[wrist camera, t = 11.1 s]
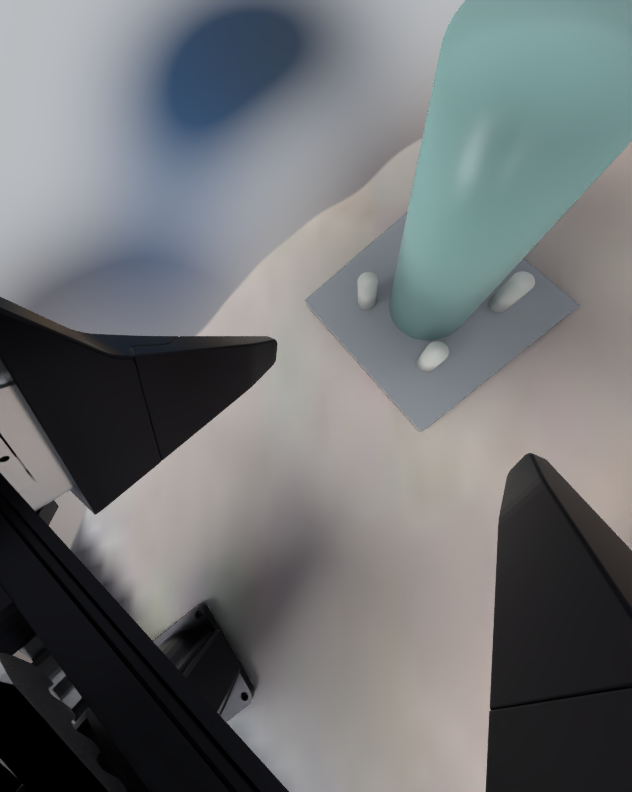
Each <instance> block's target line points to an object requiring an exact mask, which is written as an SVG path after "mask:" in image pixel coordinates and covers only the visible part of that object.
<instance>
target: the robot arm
mask: <svg viewBox="0 0 632 792" xmlns="http://www.w3.org/2000/svg"><path fill="white" fill-rule="evenodd" d="M276 353H277V341H276V340H275V339H273V338H270V337H268V336H181V337H178V336H130V335H129V336H128V335H105V334H89V333H83V332H79V331H75V330H72V329H69V328H67V327H65V326H63V325H60V324H58V323H56V322H54V321H52V320H50V319H47V318H45V317H43V316H41V315H39V314H37V313H34V312H32V311H30V310H28V309H26V308H23V307H21V306H19V305H17V304H15V303H13V302H11V301H8V300H6V299H4V298H2V297H0V792H289V791H288V790H287V789H286V788H285V787H284V786H283V785H282V784H281V783H280V781H279V780H278V779H277V778H276V777H275V776H274V775H273V774H272V773H271V771H270V770H269V769H268V768H267V767H266V766H265V765H264V764H263V763H262V762H261V760H260V759H259V758H258V757H257V756H256V755H255V754H254V753H253V752H252V750H251V749H250V748H249V747H248V746H247V745H246V744H245V743H244V742H243V740H242V739H241V738H240V737H239V736H238V735H237V734H236V733H235V732H234V731H233V729H232V728H231V727H230V726H229V725H228V724H227V723H226V722H227V721H228V720H229V719H231V718H232V717H233V716H235V715H236V714H237V713H238V712H240V711H241V710H242V709H244V708H245V707H246V706H248V705H249V704H250V703H251V701H252V698H253V696H254V687H253V685H252V683H251V681H250V680H249V678H248V676H247V675H246V673H245V671H244V669H243V668H242V666H241V664H240V662H239V661H238V659H237V657H236V655H235V654H234V652H233V650H232V648H231V647H230V645H229V643H228V642H227V640H226V638H225V636H224V635H223V633H222V631H221V629H220V628H219V626H218V624H217V622H216V621H215V619H214V617H213V615H212V614H211V612H210V610H209V609H208V607H207V606H206V605H205V604H203V603H200V604H198V605H197V606H196V607H195V608H193V609H192V610H191V611H190V612H188V613H187V614H186V615H185V616H183V617H182V618H181V619H180V620H179V621H177V622H176V623H175V624H174V625H172V626H171V627H170V628H169V629H167V630H166V631H165V632H164V633H162V634H161V635H160V636H159V637H157V638H156V639H155V640H154V641H152V640H151V639H150V638H149V637H148V635H147V634H146V633H145V632H144V631H143V630H142V629H141V628H140V627H139V625H138V624H137V623H136V622H135V621H134V620H133V619H132V618H131V617H130V616H129V614H128V613H127V612H126V611H125V610H124V609H123V608H122V607H121V606H120V604H119V603H118V602H117V601H116V600H115V599H114V598H113V597H112V596H111V595H110V593H109V592H108V591H107V590H106V589H105V588H104V587H103V586H102V585H101V583H100V582H99V581H98V580H97V579H96V578H95V577H94V576H93V575H92V573H91V572H90V571H89V570H88V569H87V568H86V567H85V566H84V565H83V564H82V562H81V561H80V560H79V559H78V558H77V557H76V556H75V555H74V554H73V552H72V551H71V550H70V549H69V548H68V547H67V546H66V545H65V544H64V543H63V541H62V540H61V539H60V538H59V537H58V536H57V535H56V534H55V533H54V532H53V530H52V529H51V528H50V527H49V524H50V522H51V520H52V518H53V516H54V514H55V512H56V511H57V508H58V505H57V504H56V502H55V501H54V500H55V499H57V498H58V497H60V496H61V495H63V494H65V493H67V492H68V491H71V492H72V493H73V494H74V495H75V496H76V497H77V498H78V499H79V500H80V501H81V502H83V503H84V504H85V505H86V506H87V507H88V508H89V509H90V510H91V511H92V512H93V513H94V514H97V513H98V512H100V511H101V510H103V509H104V508H105V507H106V506H108V505H109V504H110V503H111V502H113V501H114V500H115V499H116V498H117V497H119V496H120V495H121V494H122V493H123V492H125V491H126V490H127V489H128V488H130V487H131V486H132V485H133V484H134V483H136V482H137V481H138V480H139V479H140V478H142V477H143V476H144V475H145V474H147V473H148V472H149V471H150V470H151V469H153V468H154V467H155V466H156V465H158V464H159V463H160V462H161V460H163V459H165V458H166V457H167V456H168V455H169V454H171V453H172V452H173V451H174V450H176V449H177V448H178V447H179V446H180V445H182V444H183V443H184V442H185V441H187V440H188V439H189V438H190V437H191V436H193V435H194V434H195V433H196V432H197V431H199V430H200V429H201V428H202V427H204V426H205V425H206V424H207V423H208V422H210V421H211V420H212V419H213V418H215V417H216V416H217V415H218V414H219V413H221V412H222V411H223V410H224V409H225V408H227V407H228V406H229V405H230V404H232V403H233V402H234V401H235V400H236V399H238V398H239V397H240V396H241V395H243V394H244V393H245V392H246V391H247V390H249V389H250V388H251V387H252V386H253V385H254V384H255V383H256V382H257V381H258V380H259V379H260V378H261V377H262V376H263V375H264V374H265V373H266V372H267V371H268V370H269V369H270V368H271V367H272V365H273V364H274V363H275V361H276ZM199 611H200V612H201V613H202V615H200V614H199ZM18 650H19V651H20V652H22V653H23V654H25V655H26V656H27V657H29V658H30V659H31V660H32V661H33V662H32V663H29V662H26V661H24V660H22V659H19V658H17V657H15V656H12V655H13V654H14V653H15V652H17V651H18ZM244 692H246V693H247V694H248V695H246V694H245V693H244ZM490 709H491V710H490V712H489V732H488V753H487V775H486V792H632V551H631V549H630V548H629V547H628V546H627V545H626V544H625V543H624V542H623V541H622V540H621V539H620V538H619V537H618V536H617V535H616V533H615V532H614V531H613V530H612V529H611V528H610V527H609V526H608V525H607V524H606V523H605V522H604V521H603V520H602V519H601V517H600V516H599V515H598V514H597V513H596V512H595V511H594V510H593V509H592V508H591V507H590V506H589V505H588V504H587V503H586V502H585V500H584V499H583V498H582V497H581V496H580V495H579V494H578V493H577V492H576V491H575V490H574V489H573V488H572V487H571V486H570V484H569V483H568V482H567V481H566V480H565V479H564V478H563V477H562V476H561V475H560V474H559V473H558V472H557V471H556V470H555V468H554V467H553V466H552V465H551V464H550V463H549V462H548V461H547V460H546V459H544V458H542V457H539V456H537V455H535V454H532V453H528V454H526V455H525V456H524V457H523V458H522V459H521V460H520V461H519V462H518V463H517V464H516V465H515V466H514V467H513V468H512V469H511V470H510V472H509V473H508V476H507V480H506V485H505V490H504V495H503V500H502V505H501V510H500V515H499V524H498V543H497V565H496V586H495V608H494V630H493V651H492V673H491V694H490Z"/></svg>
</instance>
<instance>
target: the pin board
mask: <svg viewBox="0 0 632 792" xmlns="http://www.w3.org/2000/svg"><path fill="white" fill-rule="evenodd" d="M406 217H407V213H406V214H405V215H404V216H402V217H401V218H400V219H399V220H398V221H397V222H395V223H394V224H393V225H392V226H391V227H390V228H388V229H387V230H386V231H385V232H384V233H383V234H381V235H380V236H379V237H378V238H377V239H376V240H374V241H373V242H372V243H371V244H370V245H369V246H367V247H366V248H365V249H364V250H363V251H362V252H361V253H359V254H358V255H357V256H356V257H355V258H354V259H352V260H351V261H350V262H349V263H348V264H347V265H345V266H344V267H343V268H342V269H341V270H340V271H338V272H337V273H336V274H335V275H334V276H333V277H331V278H330V279H329V280H328V281H327V282H326V283H325V284H323V285H322V286H321V287H320V288H319V289H318V290H316V291H315V292H314V293H313V294H312V295H311V296H309V297H308V298H307V299H306V300H305V301H306V304H307V306H308V307H309V309H310V310H311V311H312V312H313V313H314V314H315V315H316V316H317V318H318V319H319V320H320V321H321V322H322V323H323V324H324V325H325V327H326V328H327V329H328V330H329V331H330V332H331V333H332V334H333V336H334V337H335V338H336V339H337V340H338V341H339V342H340V343H341V345H342V346H343V347H344V348H345V349H346V350H347V351H348V352H349V353H350V355H351V356H352V357H353V358H354V359H355V360H356V361H357V362H358V364H359V365H360V366H361V367H362V368H363V369H364V370H365V371H366V373H367V374H368V375H369V376H370V377H371V378H372V379H373V380H374V382H375V383H376V384H377V385H378V386H379V387H380V388H381V389H382V391H383V392H384V393H385V394H386V395H387V396H388V397H389V398H390V400H391V401H392V402H393V403H394V404H395V405H396V406H397V407H398V409H399V410H400V411H401V412H402V413H403V414H404V415H405V416H406V418H407V419H408V420H409V421H410V422H411V423H412V424H413V425H414V427H415V428H416V429H417V430H418V431H419V432H422V431H424V430H425V429H426V428H427V427H429V426H430V425H431V424H432V423H434V422H435V421H436V420H437V419H439V418H440V417H441V416H442V415H444V414H445V413H446V412H447V411H449V410H450V409H451V408H452V407H454V406H455V405H456V404H457V403H459V402H460V401H461V400H462V399H464V398H465V397H466V396H467V395H468V394H470V393H471V392H472V391H473V390H475V389H476V388H477V387H478V386H480V385H481V384H482V383H483V382H485V381H486V380H487V379H488V378H490V377H491V376H492V375H493V374H495V373H496V372H497V371H498V370H500V369H501V368H502V367H503V366H505V365H506V364H507V363H508V362H510V361H511V360H512V359H513V358H515V357H516V356H517V355H518V354H520V353H521V352H522V351H523V350H525V349H526V348H527V347H528V346H529V345H531V344H532V343H533V342H534V341H536V340H537V339H538V338H539V337H541V336H542V335H543V334H544V333H546V332H547V331H548V330H549V329H551V328H552V327H553V326H554V325H556V324H557V323H558V322H559V321H561V320H562V319H563V318H564V317H566V316H567V315H568V314H569V313H571V312H572V311H573V310H574V309H576V308H577V307H578V306H579V304H578V303H577V302H576V301H574V300H573V299H572V298H571V297H570V296H568V295H567V294H566V293H565V292H564V291H562V290H561V289H560V288H559V287H558V286H556V285H555V284H554V283H553V282H552V281H550V280H549V279H548V278H547V277H545V276H544V275H543V274H542V273H541V272H539V271H538V270H537V269H536V268H535V267H533V266H532V265H531V264H530V263H529V262H527V261H526V260H525V259H524V258H523V259H522V260H521V261H520V262H519V264H518V265H517V266H516V267H515V268H514V269H513V270H512V271H511V272H510V273H509V274H508V275H507V277H506V278H505V279H504V280H503V281H502V282H501V283H500V284H499V285H498V286H497V287H496V288H495V289H494V291H493V292H492V293H491V294H490V295H489V296H488V297H487V298H486V299H485V300H484V301H483V302H482V304H481V305H480V306H479V307H478V308H477V309H476V310H475V311H474V312H473V313H472V314H471V315H470V317H469V318H468V319H467V320H466V321H465V322H464V323H463V324H462V325H461V326H460V327H459V328H458V329H457V330H456V331H455V332H454V333H452V334H450V335H449V336H446V337H444V338H441V339H437V340H419V339H415V338H412V337H410V336H408V335H406V334H405V333H403V332H402V331H401V330H400V329H399V328H398V327H397V326H396V325H395V323H394V322H393V320H392V318H391V315H390V310H389V302H390V296H391V291H392V286H393V281H394V276H395V271H396V266H397V262H398V257H399V252H400V247H401V242H402V237H403V232H404V227H405V222H406Z"/></svg>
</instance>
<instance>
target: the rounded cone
mask: <svg viewBox="0 0 632 792" xmlns="http://www.w3.org/2000/svg"><path fill="white" fill-rule="evenodd" d="M631 141H632V0H466V1H465V2H464V3H463V4H462V5H461V7H460V8H459V9H458V11H457V12H456V13H455V15H454V17H453V18H452V20H451V22H450V24H449V26H448V28H447V30H446V33H445V35H444V38H443V41H442V46H441V50H440V55H439V60H438V64H437V70H436V75H435V79H434V85H433V89H432V95H431V99H430V104H429V109H428V114H427V119H426V124H425V129H424V133H423V138H422V143H421V148H420V153H419V158H418V163H417V168H416V173H415V178H414V183H413V188H412V193H411V197H410V202H409V207H408V212H407V217H406V222H405V227H404V232H403V237H402V242H401V247H400V252H399V257H398V262H397V266H396V271H395V276H394V281H393V286H392V291H391V296H390V302H389V310H390V315H391V318H392V320H393V322H394V323H395V325H396V326H397V327H398V328H399V329H400V330H401V331H402V332H403V333H405V334H406V335H408V336H410V337H412V338H415V339H419V340H437V339H441V338H444V337H446V336H449V335H450V334H452V333H454V332H455V331H456V330H457V329H458V328H459V327H460V326H461V325H462V324H463V323H464V322H465V321H466V320H467V319H468V318H469V317H470V315H471V314H472V313H473V312H474V311H475V310H476V309H477V308H478V307H479V306H480V305H481V304H482V302H483V301H484V300H485V299H486V298H487V297H488V296H489V295H490V294H491V293H492V292H493V291H494V289H495V288H496V287H497V286H498V285H499V284H500V283H501V282H502V281H503V280H504V279H505V278H506V277H507V275H508V274H509V273H510V272H511V271H512V270H513V269H514V268H515V267H516V266H517V265H518V264H519V262H520V261H521V260H522V259H523V258H524V257H525V256H526V255H527V254H528V253H529V252H530V251H531V249H532V248H533V247H534V246H535V245H536V244H537V243H538V242H539V241H540V240H541V239H542V238H543V236H544V235H545V234H546V233H547V232H548V231H549V230H550V229H551V228H552V227H553V226H554V225H555V223H556V222H557V221H558V220H559V219H560V218H561V217H562V216H563V215H564V214H565V213H566V212H567V210H568V209H569V208H570V207H571V206H572V205H573V204H574V203H575V202H576V201H577V200H578V199H579V197H580V196H581V195H582V194H583V193H584V192H585V191H586V190H587V189H588V188H589V187H590V186H591V184H592V183H593V182H594V181H595V180H596V179H597V178H598V177H599V176H600V175H601V174H602V173H603V172H604V170H605V169H606V168H607V167H608V166H609V165H610V164H611V163H612V162H613V161H614V160H615V159H616V157H617V156H618V155H619V154H620V153H621V152H622V151H623V150H624V149H625V148H626V147H627V146H628V144H629V143H630V142H631Z"/></svg>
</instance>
